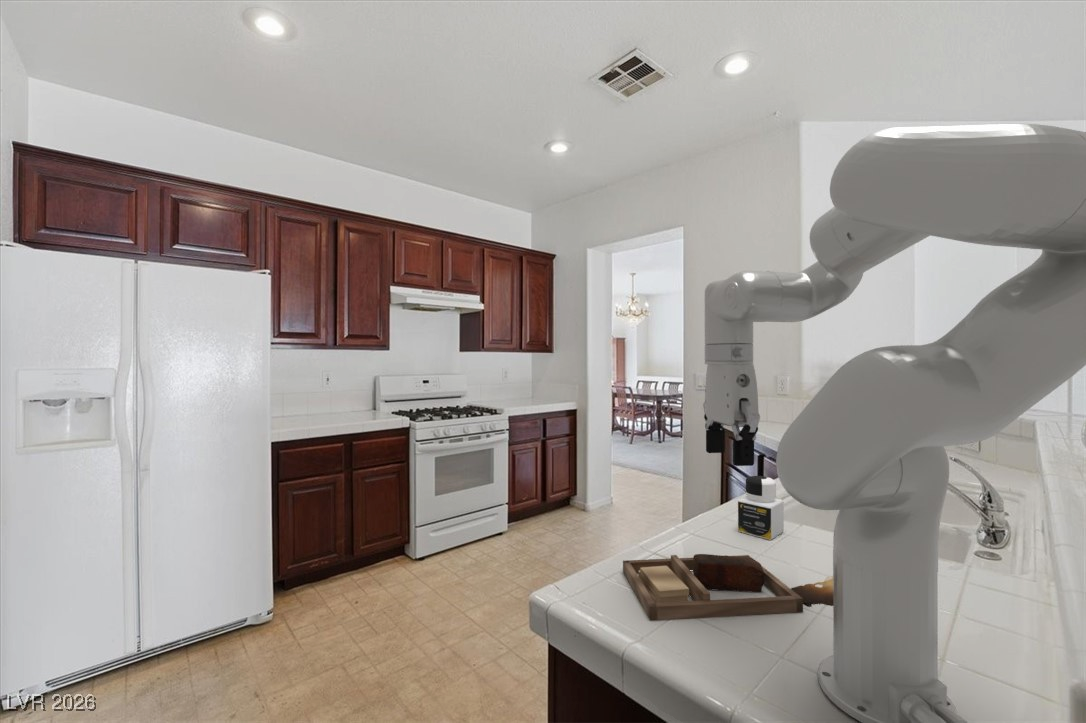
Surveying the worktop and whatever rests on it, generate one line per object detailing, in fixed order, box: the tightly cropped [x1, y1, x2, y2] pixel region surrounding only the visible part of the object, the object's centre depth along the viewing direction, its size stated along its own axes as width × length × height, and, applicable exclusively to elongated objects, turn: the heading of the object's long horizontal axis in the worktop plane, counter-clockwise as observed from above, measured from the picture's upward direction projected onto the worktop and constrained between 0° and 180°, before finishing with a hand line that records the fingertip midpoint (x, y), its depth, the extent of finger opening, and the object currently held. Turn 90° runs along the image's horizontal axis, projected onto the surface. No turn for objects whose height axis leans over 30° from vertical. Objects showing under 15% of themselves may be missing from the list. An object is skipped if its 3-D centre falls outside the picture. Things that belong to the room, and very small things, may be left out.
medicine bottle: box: [737, 475, 785, 541], centre depth 104 cm, size 7×7×12 cm
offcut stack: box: [637, 566, 690, 603], centre depth 78 cm, size 10×5×3 cm, turn 9°
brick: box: [692, 553, 765, 593], centre depth 80 cm, size 11×4×5 cm, turn 84°
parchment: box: [789, 575, 833, 608], centre depth 79 cm, size 25×10×1 cm, turn 105°
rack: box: [622, 554, 804, 621], centre depth 78 cm, size 16×24×3 cm
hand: (728, 458), depth 79 cm, fingers open, 9 cm apart
